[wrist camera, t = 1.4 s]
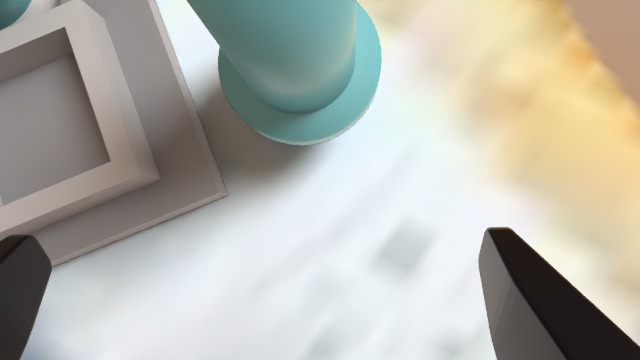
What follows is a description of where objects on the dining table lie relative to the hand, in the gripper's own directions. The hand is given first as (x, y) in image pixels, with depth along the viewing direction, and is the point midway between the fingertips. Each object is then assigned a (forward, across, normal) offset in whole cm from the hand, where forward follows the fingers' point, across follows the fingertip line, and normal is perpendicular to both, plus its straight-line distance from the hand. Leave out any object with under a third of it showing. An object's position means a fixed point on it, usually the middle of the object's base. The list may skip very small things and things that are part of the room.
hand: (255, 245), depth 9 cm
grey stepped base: (+15, +13, +3) cm, 20 cm away
